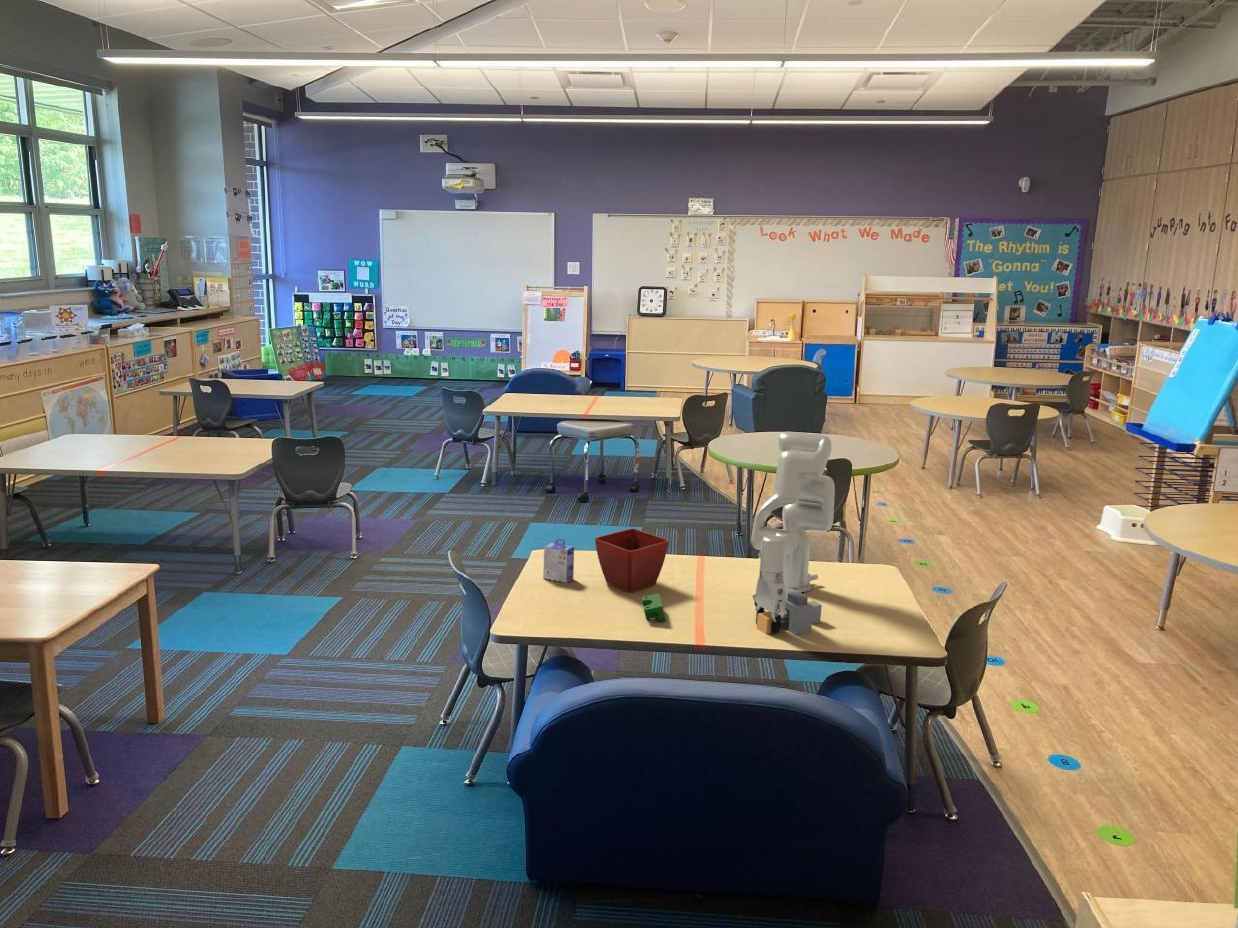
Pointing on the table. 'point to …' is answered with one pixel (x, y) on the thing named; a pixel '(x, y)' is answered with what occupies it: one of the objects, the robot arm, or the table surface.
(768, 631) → the cube-ended rod
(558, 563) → the ink cartridge box
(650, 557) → the plant pot
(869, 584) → the table surface
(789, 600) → the housing
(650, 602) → the clamp
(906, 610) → the table surface
